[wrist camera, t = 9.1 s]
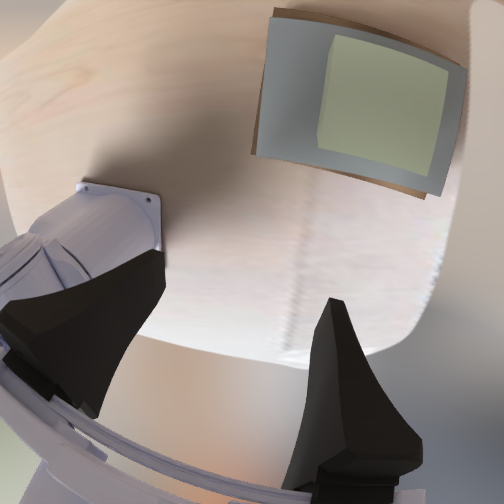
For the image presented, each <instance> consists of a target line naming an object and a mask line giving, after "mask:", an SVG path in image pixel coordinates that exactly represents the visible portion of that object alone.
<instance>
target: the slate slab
mask: <svg viewBox="0 0 504 504" xmlns="http://www.w3.org/2000/svg"><path fill="white" fill-rule="evenodd" d="M335 34H336V35H341V36H345V37H350V38H354V39H358V40H362V41H366V42H369V43H373V44H376V45H380V46H383V47H386V48H390V49H393V50H396V51H399V52H402V53H404V54H407V55H410V56H413V57H415V58H418V59H421V60H423V61H426V62H428V63H430V64H433V65H435V66H438V67H440V68H442V69H444V70H446V71H449V72H448V80H447V88H446V94H445V100H444V106H443V112H442V117H441V122H440V127H439V131H438V136H437V140H436V145H435V149H434V153H433V157H432V161H431V164H430V168H429V172H428V175H427V177H426V176H423V175H420V174H417V173H414V172H411V171H407V170H404V169H401V168H397V167H394V166H391V165H387V164H384V163H380V162H376V161H372V160H369V159H365V158H361V157H357V156H353V155H349V154H344V153H340V152H336V151H331V150H326V149H322V148H318V140H317V128H318V122H319V115H320V109H321V103H322V96H323V89H324V82H325V75H326V68H327V61H328V53H329V50H330V48H331V45H332V42H333V39H334V37H335ZM466 77H467V69H465V68H463V67H460V66H458V65H456V64H454V63H452V62H450V61H448V60H446V59H443V58H441V57H439V56H436V55H434V54H431V53H429V52H427V51H424V50H421V49H419V48H416V47H413V46H411V45H408V44H405V43H402V42H399V41H396V40H393V39H389V38H386V37H383V36H379V35H376V34H372V33H368V32H364V31H360V30H356V29H351V28H347V27H342V26H337V25H331V24H326V23H320V22H313V21H306V20H297V19H288V18H275V17H270V20H269V30H268V40H267V49H266V59H265V69H264V79H263V89H262V99H261V109H260V119H259V129H258V139H257V150H256V157H263V158H270V159H277V160H283V161H290V162H296V163H302V164H307V165H313V166H318V167H323V168H329V169H333V170H338V171H343V172H348V173H352V174H357V175H361V176H366V177H370V178H374V179H378V180H382V181H386V182H390V183H394V184H397V185H401V186H405V187H408V188H412V189H416V190H419V191H422V192H426V193H429V194H432V195H436V196H439V197H441V194H442V191H443V187H444V184H445V181H446V177H447V174H448V170H449V166H450V163H451V159H452V155H453V151H454V147H455V142H456V138H457V133H458V129H459V123H460V118H461V113H462V107H463V100H464V94H465V86H466Z"/></svg>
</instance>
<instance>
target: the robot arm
mask: <svg viewBox="0 0 504 504" xmlns="http://www.w3.org/2000/svg"><path fill="white" fill-rule="evenodd" d="M87 187H88V188H87ZM76 189H77V193H76V194H74V195H72V196H71V197H69V198H68V199H66V200H64V201H63V202H61V203H60V204H58V205H57V206H55V207H54V208H52V209H51V210H49V211H48V212H46V213H45V214H43V215H42V216H40V217H39V218H38V219H37V220H36V221H35V222H34V223H33V224H32V226H31V227H30V229H29V231H28V233H25V234H22V235H20V236H18V237H17V238H15V239H13V240H12V241H10V242H9V243H7V244H6V245H4V246H3V247H1V248H0V417H1V418H2V419H3V420H4V422H5V423H6V424H7V425H8V426H9V427H10V428H11V429H12V430H13V431H14V432H15V433H16V435H17V436H18V437H19V438H20V439H21V440H22V441H23V442H24V443H25V444H27V446H29V447H30V448H31V449H32V450H33V451H34V452H35V453H36V454H37V455H38V456H39V457H41V459H42V461H41V463H40V465H39V466H38V469H37V470H36V472H35V474H34V476H33V477H32V479H31V481H30V483H29V485H28V487H27V489H26V491H25V493H24V495H23V497H22V499H21V501H20V503H19V504H199V503H196V502H193V501H190V500H187V499H184V498H182V497H179V496H176V495H174V494H171V493H168V492H166V491H164V490H161V489H159V488H156V487H154V486H152V485H149V484H147V483H145V482H143V481H141V480H139V479H136V478H135V477H132V476H130V475H128V474H126V473H124V472H122V471H121V470H119V469H117V468H115V467H113V466H111V465H109V464H108V463H106V462H105V461H106V460H107V457H108V455H107V454H106V453H104V452H103V451H101V450H100V449H99V448H97V447H96V446H94V445H93V444H92V442H91V441H89V440H88V439H86V438H85V437H83V436H82V435H81V434H79V433H78V432H76V431H75V429H74V427H75V428H77V429H78V430H80V431H81V432H83V433H84V434H86V435H88V436H89V437H91V438H93V439H94V440H96V441H98V442H99V443H101V444H103V445H105V446H106V447H108V448H110V449H112V450H113V451H115V452H117V453H119V454H121V455H123V456H125V457H127V458H129V459H131V460H133V461H135V462H137V463H139V464H141V465H144V466H146V467H148V468H150V469H152V470H155V471H157V472H159V473H162V474H164V475H167V476H169V477H172V478H174V479H177V480H180V481H182V482H185V483H188V484H191V485H194V486H196V487H200V488H203V489H206V490H209V491H212V492H216V493H219V494H223V495H227V496H231V497H234V498H238V499H243V500H247V501H252V502H257V503H262V504H425V496H426V490H425V489H418V490H407V491H398V492H394V487H395V486H397V485H398V484H399V477H400V476H402V475H404V474H406V473H409V472H411V471H413V470H415V469H417V468H418V467H420V466H421V464H422V463H423V445H422V439H421V438H420V437H419V436H418V435H417V433H416V432H415V431H414V430H413V429H412V428H411V427H410V426H409V425H408V424H407V423H406V421H405V420H404V419H403V417H402V416H401V415H400V414H399V412H398V411H397V410H396V408H395V407H394V406H393V404H392V403H391V401H390V400H389V398H388V397H387V395H386V394H385V392H384V391H383V389H382V388H381V386H380V384H379V383H378V381H377V379H376V377H375V375H374V374H373V372H372V370H371V368H370V366H369V364H368V362H367V359H366V357H365V355H364V353H363V351H362V348H361V346H360V344H359V341H358V339H357V336H356V334H355V331H354V328H353V326H352V323H351V320H350V317H349V315H348V312H347V309H346V306H345V303H344V301H342V300H338V299H334V298H330V297H329V299H328V302H327V304H326V306H325V308H324V311H323V313H322V315H321V317H320V320H319V322H318V324H317V326H316V328H315V331H314V336H313V341H312V347H311V353H310V365H309V378H308V388H307V397H306V404H305V409H304V414H303V418H302V422H301V426H300V430H299V434H298V438H297V441H296V445H295V448H294V451H293V455H292V458H291V461H290V465H289V467H288V470H287V473H286V476H285V479H284V482H283V484H282V487H281V489H278V488H272V487H267V486H262V485H257V484H253V483H248V482H244V481H240V480H236V479H232V478H229V477H225V476H221V475H218V474H215V473H211V472H208V471H205V470H202V469H199V468H196V467H193V466H190V465H187V464H185V463H182V462H179V461H177V460H174V459H171V458H169V457H167V456H164V455H162V454H159V453H157V452H155V451H152V450H150V449H148V448H146V447H143V446H141V445H139V444H137V443H135V442H133V441H131V440H129V439H127V438H125V437H123V436H121V435H119V434H117V433H115V432H114V431H112V430H110V429H108V428H106V427H105V426H103V425H101V424H99V423H98V422H96V421H94V420H93V419H96V418H98V416H99V412H100V410H101V406H102V404H103V401H104V398H105V395H106V392H107V390H108V387H109V385H110V383H111V380H112V378H113V376H114V373H115V371H116V369H117V367H118V365H119V363H120V361H121V359H122V357H123V355H124V353H125V351H126V349H127V347H128V346H129V344H130V342H131V341H132V339H133V338H134V336H135V335H136V334H137V332H138V331H139V329H140V328H141V326H142V325H143V324H144V322H145V321H146V319H147V318H148V317H149V315H150V314H151V312H152V311H153V309H154V308H155V307H156V305H157V303H158V301H159V300H160V298H161V296H162V294H163V292H164V290H165V288H166V280H165V263H164V252H162V251H161V201H160V197H159V196H158V195H156V194H151V193H146V192H140V191H135V190H129V189H124V188H118V187H112V186H106V185H100V184H94V183H88V182H78V183H77V185H76ZM148 198H150V200H151V202H150V201H149V200H148ZM73 426H74V427H73ZM228 504H249V503H243V502H238V501H229V503H228Z"/></svg>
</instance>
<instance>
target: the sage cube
mask: <svg viewBox="0 0 504 504" xmlns="http://www.w3.org/2000/svg"><path fill="white" fill-rule="evenodd" d="M448 72H449V71H446V70H444V69H442V68H440V67H438V66H435V65H433V64H430V63H428V62H426V61H423V60H421V59H418V58H415V57H413V56H410V55H407V54H404V53H402V52H399V51H396V50H393V49H390V48H386V47H383V46H380V45H376V44H373V43H369V42H366V41H362V40H358V39H354V38H350V37H345V36H341V35H336V34H335V37H334V39H333V42H332V45H331V48H330V50H329V53H328V61H327V68H326V75H325V82H324V89H323V96H322V103H321V109H320V115H319V122H318V128H317V140H318V148H322V149H326V150H331V151H336V152H340V153H344V154H349V155H353V156H357V157H361V158H365V159H369V160H372V161H376V162H380V163H384V164H387V165H391V166H394V167H397V168H401V169H404V170H407V171H411V172H414V173H417V174H420V175H423V176H426V177H427V175H428V172H429V168H430V164H431V161H432V157H433V153H434V149H435V145H436V140H437V136H438V131H439V127H440V122H441V117H442V112H443V106H444V100H445V94H446V88H447V80H448Z"/></svg>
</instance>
